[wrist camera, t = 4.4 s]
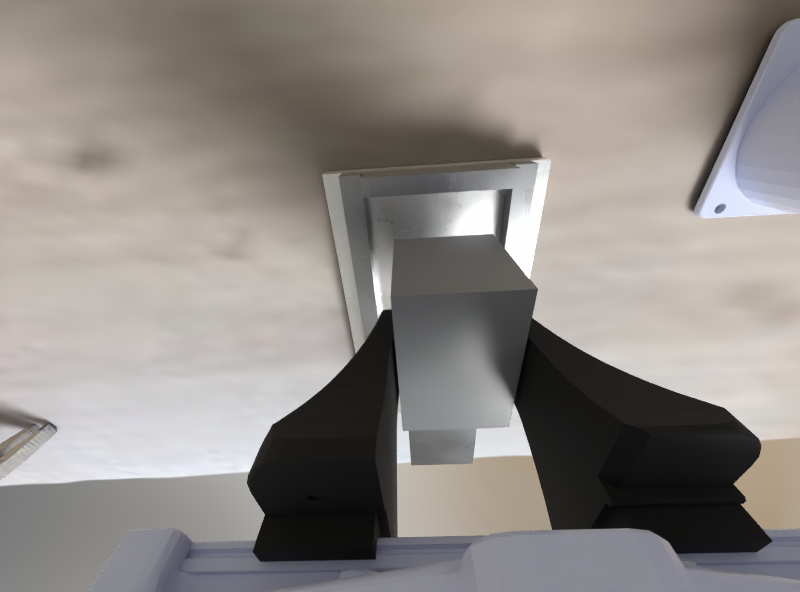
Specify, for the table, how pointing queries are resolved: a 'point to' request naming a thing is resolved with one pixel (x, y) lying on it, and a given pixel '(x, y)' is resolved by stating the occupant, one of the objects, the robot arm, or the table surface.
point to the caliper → (23, 446)
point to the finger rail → (422, 218)
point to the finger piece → (458, 330)
